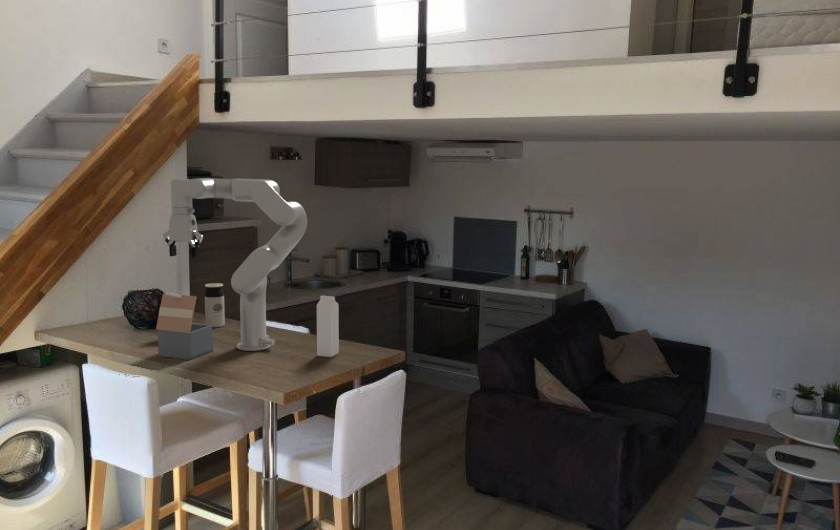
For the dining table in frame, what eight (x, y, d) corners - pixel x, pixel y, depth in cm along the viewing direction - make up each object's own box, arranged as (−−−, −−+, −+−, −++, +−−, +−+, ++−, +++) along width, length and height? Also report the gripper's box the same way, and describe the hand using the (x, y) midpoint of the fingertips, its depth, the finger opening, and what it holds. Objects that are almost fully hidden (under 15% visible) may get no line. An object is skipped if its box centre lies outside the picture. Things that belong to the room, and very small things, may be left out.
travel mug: (204, 324, 305) (203, 283, 303) (223, 323, 308) (222, 282, 306) (206, 328, 298) (205, 286, 296) (226, 326, 301) (224, 285, 299)
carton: (212, 351, 262) (212, 325, 261) (191, 359, 250) (190, 332, 249) (181, 347, 267) (180, 322, 265) (158, 356, 255) (157, 329, 253)
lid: (196, 296, 251) (185, 293, 245) (190, 332, 249) (178, 330, 242) (164, 293, 256) (152, 290, 249) (157, 329, 253) (144, 326, 247)
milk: (324, 351, 263) (324, 294, 260) (339, 353, 261) (338, 295, 258) (316, 355, 258) (316, 296, 255) (331, 357, 256) (331, 297, 253)
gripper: (207, 211, 265) (209, 256, 267) (169, 210, 270) (171, 254, 273) (195, 213, 258) (196, 259, 260) (156, 211, 263) (158, 256, 266)
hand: (183, 256), depth 266 cm, fingers open, 9 cm apart
